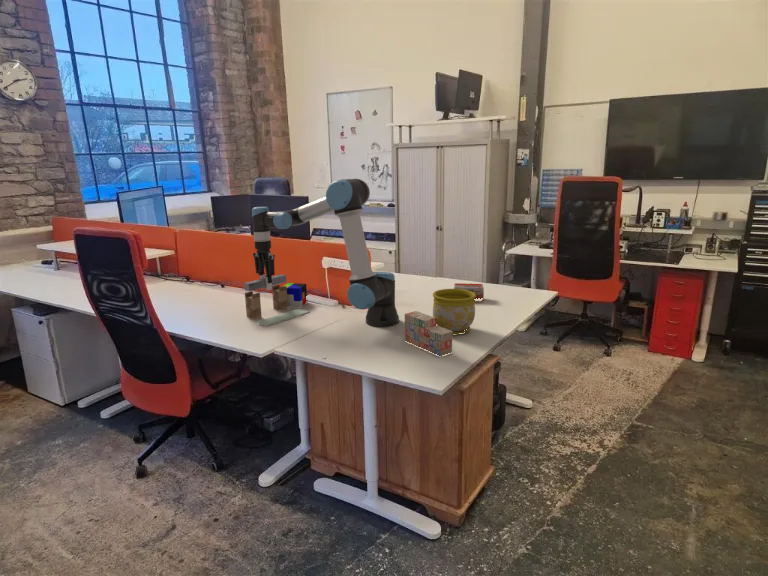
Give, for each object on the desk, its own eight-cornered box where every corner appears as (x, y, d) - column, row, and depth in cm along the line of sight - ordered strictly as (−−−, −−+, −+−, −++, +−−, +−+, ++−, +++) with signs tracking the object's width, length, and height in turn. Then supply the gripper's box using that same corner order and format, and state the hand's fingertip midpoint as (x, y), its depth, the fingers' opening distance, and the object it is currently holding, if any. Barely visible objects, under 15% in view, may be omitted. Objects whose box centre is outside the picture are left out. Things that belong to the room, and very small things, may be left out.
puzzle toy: (300, 307, 248) (299, 288, 246) (281, 306, 250) (280, 287, 248) (307, 302, 258) (306, 283, 255) (289, 301, 260) (288, 283, 257)
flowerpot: (465, 340, 200) (467, 301, 196) (425, 333, 209) (425, 296, 205) (480, 327, 215) (481, 291, 211) (442, 321, 224) (442, 286, 220)
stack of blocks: (452, 354, 186) (453, 323, 183) (440, 358, 183) (440, 326, 180) (416, 338, 203) (416, 310, 200) (404, 342, 199) (404, 313, 196)
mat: (310, 312, 240) (310, 311, 240) (267, 326, 220) (267, 324, 220) (299, 309, 245) (299, 308, 244) (255, 322, 225) (255, 321, 225)
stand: (287, 309, 245) (286, 286, 242) (254, 319, 230) (252, 294, 227) (279, 307, 249) (278, 284, 246) (246, 316, 234) (244, 292, 231)
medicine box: (453, 301, 256) (454, 286, 254) (453, 297, 264) (454, 283, 262) (483, 302, 254) (483, 287, 252) (482, 298, 262) (483, 283, 260)
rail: (281, 281, 246) (281, 274, 245) (286, 282, 243) (286, 275, 243) (244, 290, 229) (244, 282, 228) (249, 291, 227) (248, 283, 226)
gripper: (280, 240, 229) (283, 289, 234) (258, 238, 239) (262, 285, 244) (267, 242, 223) (271, 292, 229) (245, 240, 233) (249, 288, 239)
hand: (266, 288), depth 237 cm, fingers closed on rail, 3 cm apart
